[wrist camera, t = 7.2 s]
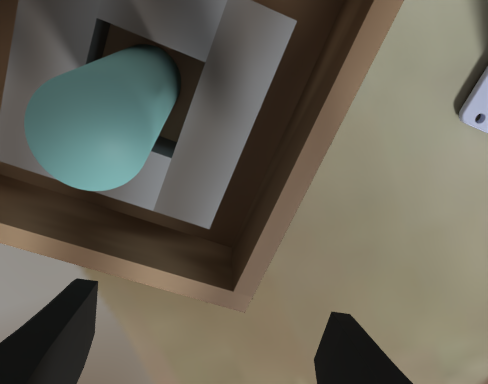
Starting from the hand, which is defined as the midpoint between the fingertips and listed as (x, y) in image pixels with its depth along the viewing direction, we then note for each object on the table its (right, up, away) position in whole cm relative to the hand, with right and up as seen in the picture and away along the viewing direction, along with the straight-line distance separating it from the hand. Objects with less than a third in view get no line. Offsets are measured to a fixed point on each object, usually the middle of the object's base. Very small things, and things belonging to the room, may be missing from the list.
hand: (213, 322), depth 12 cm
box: (-4, +9, +7) cm, 12 cm away
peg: (-4, +9, +6) cm, 12 cm away
